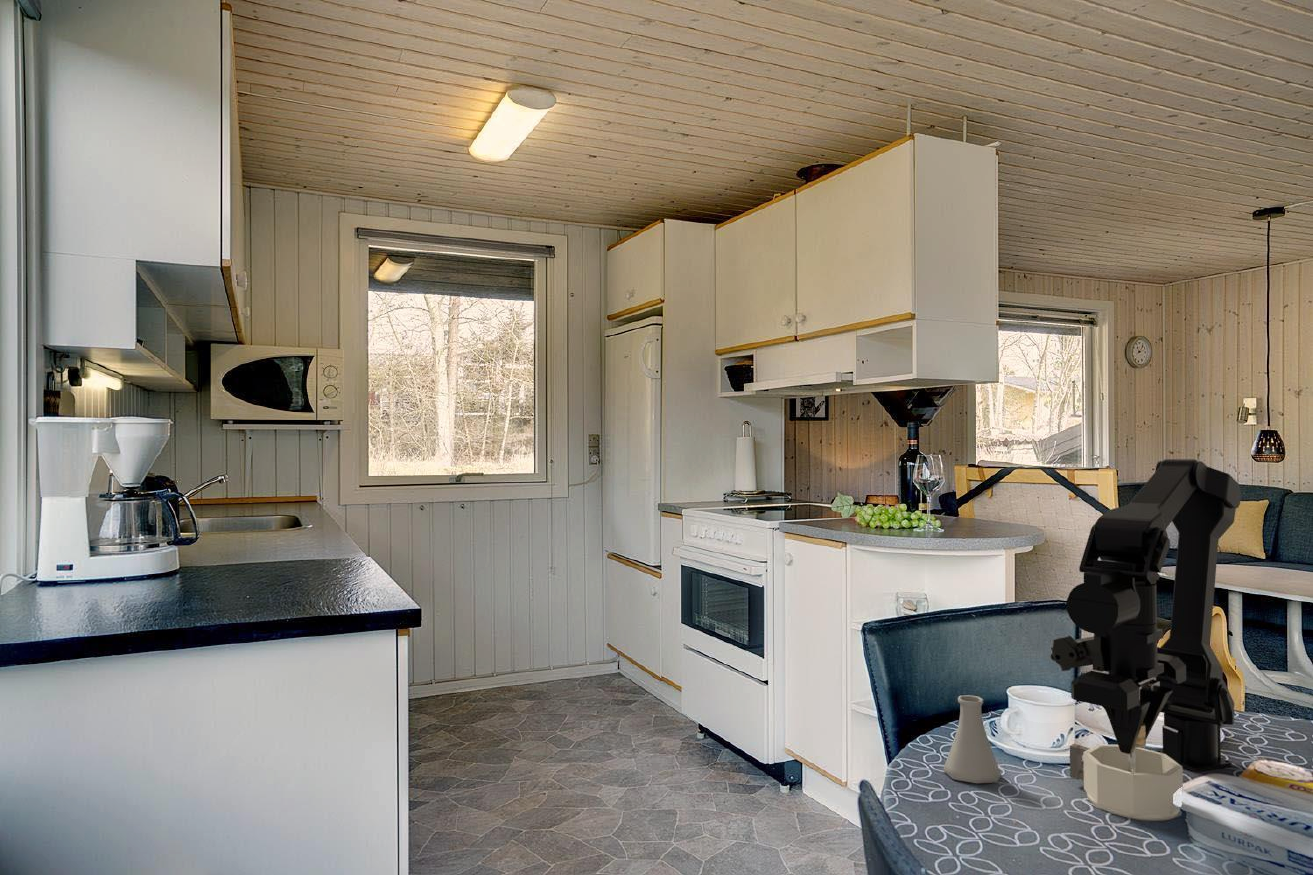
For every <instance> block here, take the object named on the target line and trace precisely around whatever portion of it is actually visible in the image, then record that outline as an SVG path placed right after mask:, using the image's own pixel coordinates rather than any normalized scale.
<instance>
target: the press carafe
mask: <svg viewBox="0 0 1313 875" xmlns="http://www.w3.org/2000/svg"><path fill="white" fill-rule="evenodd" d="M1135 760H1136V773H1132V772H1128V754H1126V753H1123V752H1121V751H1120V749H1119V746H1118V744H1100V743H1099V744H1096V745H1094V746H1092V747H1087V746H1084V745H1081V744H1077V743H1072V744H1070V745H1069V776H1070V778H1071V779H1074V780H1078V781H1079V780H1080V781H1083V790H1084V791H1085V792H1086V797H1087V799H1088V801H1089V802H1090V803H1091V804H1092V805H1094V806H1096V807H1097V808H1099V809H1100V810H1103V811H1105V812H1108V813H1110V814H1112V815H1116V816H1121V817H1124V818H1127V819H1134V820H1138V821H1139V820H1140V821H1147V822H1148V821H1149V822H1161V821H1168V820H1173V819H1176V818H1178V817H1179V815H1180V814H1181V808H1178V807H1176V806H1175V805H1174V804H1173V794H1174V793H1175V792H1176V791H1177V790H1178V789H1179V788H1181V787H1183V788H1184V785H1183V784H1184V782H1183V780H1184V778H1183V776H1184V775H1183V771H1184V770H1183V766H1181V765H1179V764H1178V763H1177V762H1175V761H1174V760H1173V759H1171V758H1170V757H1169V756H1167V755H1166V754H1163V753H1159V752H1155V750H1152V749H1146V748H1144V747H1135Z"/></svg>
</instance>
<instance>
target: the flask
mask: <svg viewBox="0 0 1313 875" xmlns="http://www.w3.org/2000/svg"><path fill="white" fill-rule="evenodd" d="M957 703H959V705H960V707H959V709H960V710H959V711H960V712H959V719H958V726H957V729H956V732H955V736H954V738H953V741H952V744H951V747H950V751H949V752H948V755H947V759H945V760H946V761H945V764H944V766H943V769H942V771H943V772H944V773H945V774H947V775H948V776H949V777H950V779H953V780H955V781H961V782H967V783H971V784H972V783H973V784H988V783H989V784H990V783H998V782H999V780H1000V777H1001V775H1002V774H1001V770H1000V768H999V765H998V762H997V760H996V758H995V755H994V752H993V749H992V747H991V744H990V741H989V738H988V735H987V733H986V729H985V727H984V726H985V725H984V721H983V716H982V715H983V714H982V706H983V704H984V698H982V697H980V696H978V695H977V696H976V695H970V694H965V695H959V696H958V697H957Z"/></svg>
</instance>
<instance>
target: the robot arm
mask: <svg viewBox="0 0 1313 875" xmlns="http://www.w3.org/2000/svg"><path fill="white" fill-rule="evenodd" d="M1241 500H1242V490H1241V486H1240V484H1239V483H1238V482H1237V481H1236V479H1235V478H1233V476H1231V474H1229V473H1227V472H1224V471H1221V470H1218V469H1215V468H1213V467H1211V466H1207V465H1206V464H1205V463H1204V462H1203V461H1202V460H1201V461H1199V460H1197V459H1196V458H1195V459H1194V458H1193V459H1191V458H1189V459H1188V458H1187V459H1186V458H1185V459H1184V458H1175V459H1174V458H1172V459H1171V458H1165V459H1164V460H1159V461H1158V462H1157V463H1156V467H1155V472H1154V473H1153V474H1152V476H1151V477H1149V479H1148V480H1147V482H1145V484H1144V485H1143V486H1142V488H1140V490H1139V491H1138V492H1137V494H1136V495H1135V496H1134V497H1133V498H1132V500H1131V501H1130V502H1129V503H1128V504H1126V505H1122V506H1119V507H1115V508H1111V509H1109V510H1108V511H1106V512H1105V513H1104V514H1102V515H1101V516H1099V518H1097V519H1096V522H1095V523H1094V524H1093V525H1092V527H1091V528H1090V531H1089V535H1088V538H1087V541H1086V545H1085V547H1084V551H1083V554H1082V557H1081V562H1080V565H1079V568H1078V570H1079V572H1080V573H1083V583H1080V584H1078V585H1075V586H1074V587H1073V588H1072V589H1071V591H1070V592H1069V594H1068V595H1067V599H1066V602H1065V603H1066V604H1065V606H1066V612H1067V614H1068V616H1069V618H1070V619H1071V621H1072V623H1074V624H1075V626H1076V627H1078V628H1079V629H1081V630H1082V631H1084V632H1087V633H1090V634H1093V636H1088V637H1084V638H1078V639H1074V637H1072V635H1068V636H1064V637H1058V638H1055V639H1053V642H1052V647H1050V650H1051V654H1050V659H1051V660H1052V661H1054V662H1055V663H1056V664H1057V665H1059V667H1060V669H1061V672H1067V671H1070V670H1072V669H1074V668H1075V669H1076V668H1080V667H1081V668H1082V667H1087V666H1092V670H1090V671H1088V672H1087V671H1086V672H1085V673H1082V674H1080V675H1078V676H1077V677H1076V678H1074V679H1073V680H1072V681H1071V682H1070V695H1071V696H1070V698H1071V699H1072V700H1074V701H1078V702H1081V703H1082V702H1083V703H1087V704H1090V705H1095V706H1099V707H1102V708H1103V709H1104V711H1105V713H1106V715H1107V717H1108V720H1109V722H1110V723H1109V724H1110V726H1111V729H1112V731H1113V733H1114V737H1115V740H1116V743H1117V745H1118V746H1119V749H1120V751H1121V752H1123V753H1126V754H1130V753H1131V752H1132V750H1133V747H1134V745H1135V742H1136V740H1137V737H1138V734H1139V732H1140V729H1141V726H1142V723H1145V726H1146V740H1147V739H1148V736H1149V734H1150V732H1151V730H1152V729H1153V726H1154V725H1155V723H1156V721H1157V720H1158V717H1159V716H1160V713H1163V725H1162V731H1161V732H1162V749H1155V750H1154V751H1155V752H1159V753H1163V754H1166V755H1167V756H1169V757H1170V758H1171V759H1173V760H1174V761H1175V762H1177V763H1178V764H1179V765H1181V766H1182V768H1183V767H1184V768H1186V769H1188V770H1190V771H1194V772H1198V771H1199V772H1200V771H1205V770H1212V769H1213V770H1214V769H1219V768H1220V769H1222V768H1226V767H1232V761H1230V760H1228V759H1225V758H1223V757H1222V750H1221V749H1222V747H1221V746H1222V745H1221V744H1222V742H1221V738H1222V737H1221V733H1222V732H1221V727H1223V726H1224V725H1225V726H1229V725H1231V726H1232V725H1234V724H1235V713H1236V712H1235V701H1234V699H1233V697H1232V695H1231V693H1230V691H1229V688H1228V686H1227V684H1226V681H1225V680H1224V679H1223V675H1224V674H1223V670H1224V668H1223V666H1222V664H1221V662H1220V660H1219V659H1218V657H1217V655H1216V654H1215V651H1214V649H1213V648H1212V647H1211V637H1212V635H1211V634H1212V626H1213V625H1212V623H1213V611H1214V601H1215V600H1214V599H1215V589H1216V588H1215V587H1216V575H1217V561H1218V551H1219V550H1218V547H1219V540H1220V539H1221V538H1222V536H1223V535H1224V534H1225V533H1226V532H1227V531H1228V530H1229V528H1230V527H1231V526H1232V525H1233V524H1234V522H1235V518H1236V511H1237V509H1239V508H1240V505H1241ZM1171 523H1172V524H1173V525H1174V527H1175V528H1176V531H1177V533H1178V538H1177V540H1178V541H1177V549H1176V550H1177V551H1176V561H1175V572H1174V582H1173V596H1172V606H1171V607H1172V608H1171V618H1170V630H1169V637H1168V638H1167V640H1166V641H1165V642H1164V643H1163V644H1162V645H1161V646H1160V647H1159V646H1158V641H1159V640H1162V639H1164V629H1162V628H1158V612H1157V611H1158V607H1157V605H1158V601H1157V600H1158V599H1157V581H1158V580H1160V574H1159V573H1161V571H1162V569H1163V566H1164V563H1165V560H1166V558H1167V555H1168V552H1169V550H1170V547H1171V540H1170V538H1169V536H1168V533H1167V528H1168V527H1169V526H1170V524H1171ZM1099 558H1100V560H1099ZM1106 672H1107V673H1106Z"/></svg>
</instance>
